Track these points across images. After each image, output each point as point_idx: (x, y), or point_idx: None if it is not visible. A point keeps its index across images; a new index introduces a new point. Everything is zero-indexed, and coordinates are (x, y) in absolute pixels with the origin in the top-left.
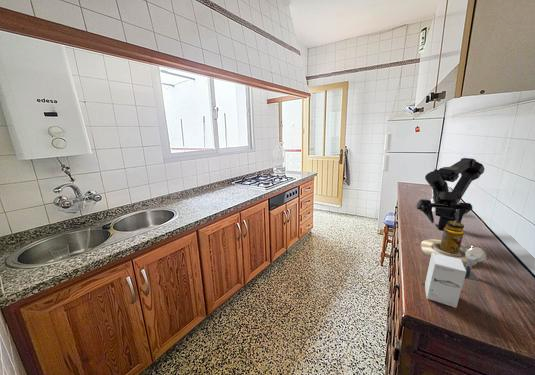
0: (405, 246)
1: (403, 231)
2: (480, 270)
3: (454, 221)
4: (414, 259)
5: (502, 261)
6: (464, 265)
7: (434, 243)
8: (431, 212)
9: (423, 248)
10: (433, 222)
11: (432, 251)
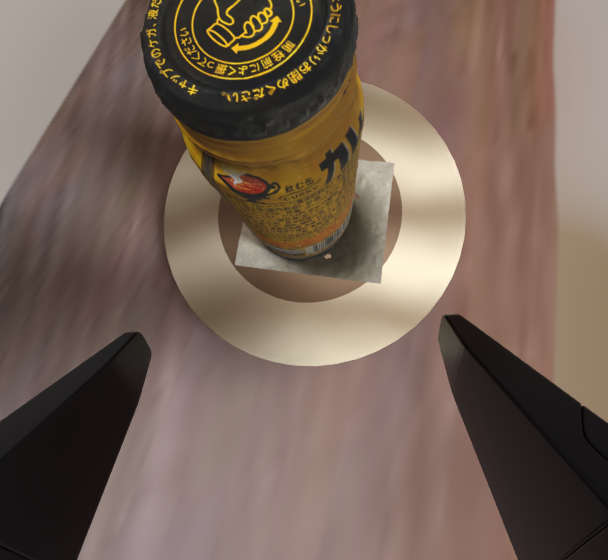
0: (539, 248)
1: None
2: None
3: (224, 97)
4: (497, 102)
5: (51, 277)
6: None
7: (371, 270)
8: (591, 458)
9: (457, 172)
10: (445, 314)
11: (408, 148)
